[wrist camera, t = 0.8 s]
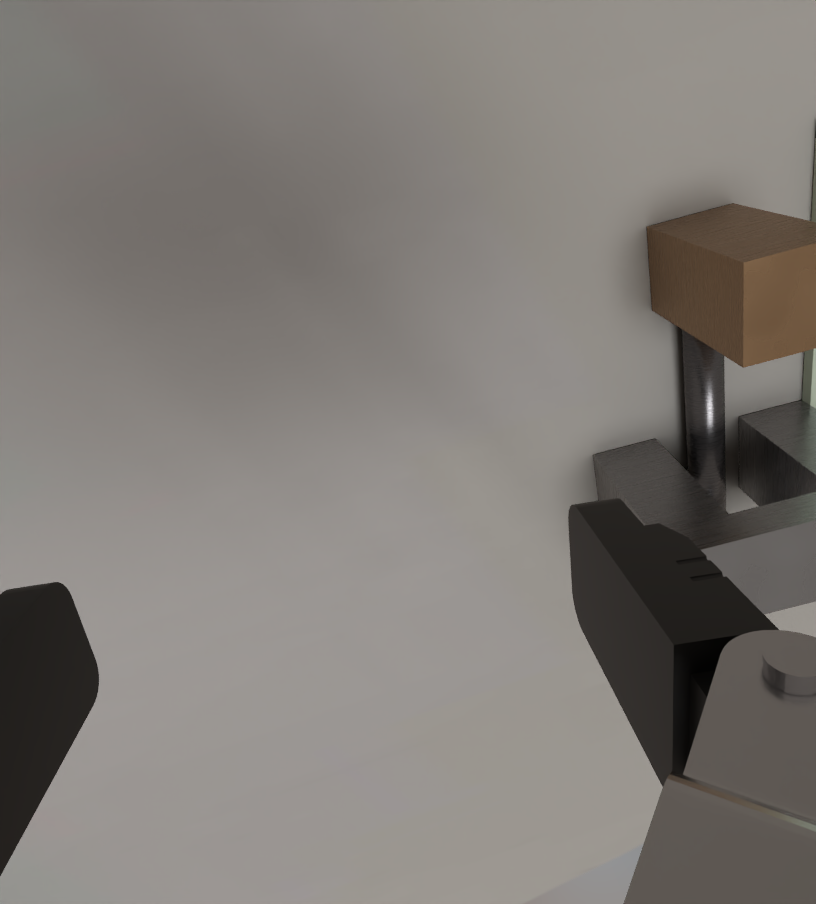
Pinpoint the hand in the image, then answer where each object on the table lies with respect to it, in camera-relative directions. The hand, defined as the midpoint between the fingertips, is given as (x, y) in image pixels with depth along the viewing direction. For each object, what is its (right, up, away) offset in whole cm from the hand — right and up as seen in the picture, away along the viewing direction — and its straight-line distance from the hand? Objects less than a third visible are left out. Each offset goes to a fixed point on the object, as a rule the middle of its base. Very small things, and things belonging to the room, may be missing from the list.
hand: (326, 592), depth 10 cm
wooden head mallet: (+15, +4, +20) cm, 25 cm away
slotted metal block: (+15, +2, +21) cm, 26 cm away
